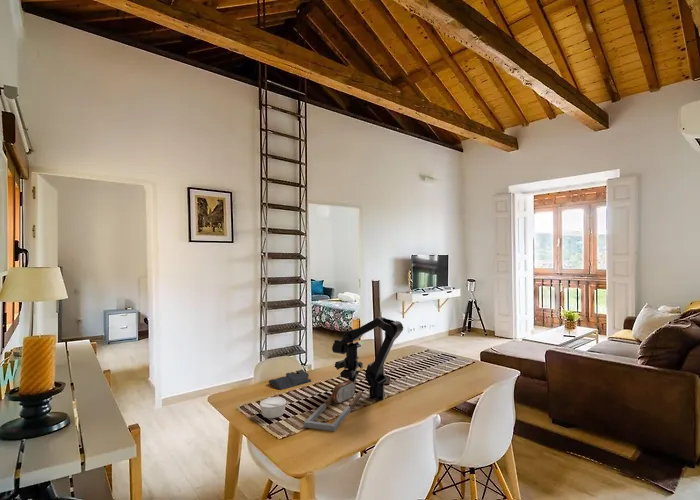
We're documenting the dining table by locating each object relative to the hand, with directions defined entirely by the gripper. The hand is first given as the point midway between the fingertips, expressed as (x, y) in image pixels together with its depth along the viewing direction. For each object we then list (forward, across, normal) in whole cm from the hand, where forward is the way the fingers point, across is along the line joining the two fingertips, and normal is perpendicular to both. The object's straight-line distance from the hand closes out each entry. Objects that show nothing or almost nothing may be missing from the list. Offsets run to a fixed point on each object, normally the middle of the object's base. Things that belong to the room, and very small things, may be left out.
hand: (352, 386), depth 189 cm
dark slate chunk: (+3, -4, -37) cm, 37 cm away
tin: (+3, +12, 0) cm, 12 cm away
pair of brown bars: (+2, +13, 0) cm, 13 cm away
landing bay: (+2, +32, 0) cm, 32 cm away
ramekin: (+3, +35, -25) cm, 43 cm away
